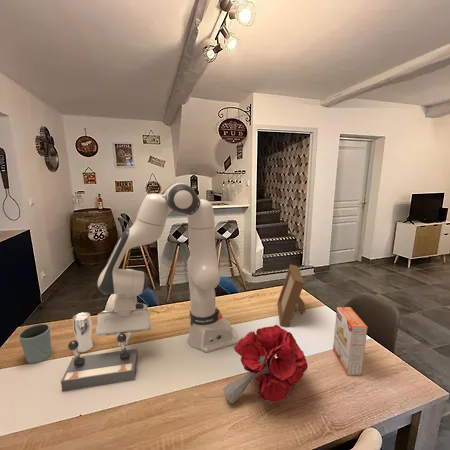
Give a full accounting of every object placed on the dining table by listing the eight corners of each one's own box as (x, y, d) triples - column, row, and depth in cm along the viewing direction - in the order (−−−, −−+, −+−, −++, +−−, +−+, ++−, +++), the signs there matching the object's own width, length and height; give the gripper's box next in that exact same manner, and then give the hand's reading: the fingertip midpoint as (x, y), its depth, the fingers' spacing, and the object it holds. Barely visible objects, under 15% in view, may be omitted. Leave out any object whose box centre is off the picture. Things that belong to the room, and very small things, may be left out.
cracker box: (331, 350, 111) (336, 306, 106) (345, 350, 110) (351, 306, 106) (345, 375, 97) (351, 326, 93) (362, 376, 97) (368, 326, 92)
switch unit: (138, 357, 106) (137, 347, 105) (134, 379, 95) (133, 369, 94) (73, 366, 101) (72, 356, 100) (62, 391, 89) (60, 380, 88)
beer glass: (86, 354, 108) (82, 321, 104) (72, 351, 109) (67, 319, 106) (97, 343, 114) (94, 312, 111) (84, 341, 116) (80, 311, 113)
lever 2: (130, 352, 102) (126, 330, 95) (129, 360, 99) (125, 338, 93) (121, 354, 101) (117, 331, 95) (120, 361, 98) (115, 339, 92)
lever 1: (85, 358, 98) (78, 337, 91) (83, 366, 95) (76, 346, 89) (76, 359, 97) (68, 339, 91) (74, 368, 95) (65, 347, 88)
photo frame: (279, 326, 127) (283, 279, 122) (277, 304, 148) (279, 263, 143) (310, 329, 125) (315, 281, 120) (303, 306, 146) (307, 265, 141)
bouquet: (257, 447, 78) (329, 381, 84) (219, 397, 71) (300, 329, 77) (232, 394, 98) (292, 344, 104) (200, 352, 92) (266, 300, 98)
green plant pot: (58, 352, 108) (55, 327, 106) (32, 368, 99) (28, 341, 97) (43, 345, 113) (40, 321, 110) (17, 360, 104) (12, 334, 101)
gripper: (96, 309, 101) (91, 347, 93) (150, 304, 105) (149, 340, 98) (99, 313, 106) (95, 350, 99) (151, 308, 110) (151, 343, 103)
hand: (123, 345), depth 98 cm, fingers closed, pressing on lever 2
